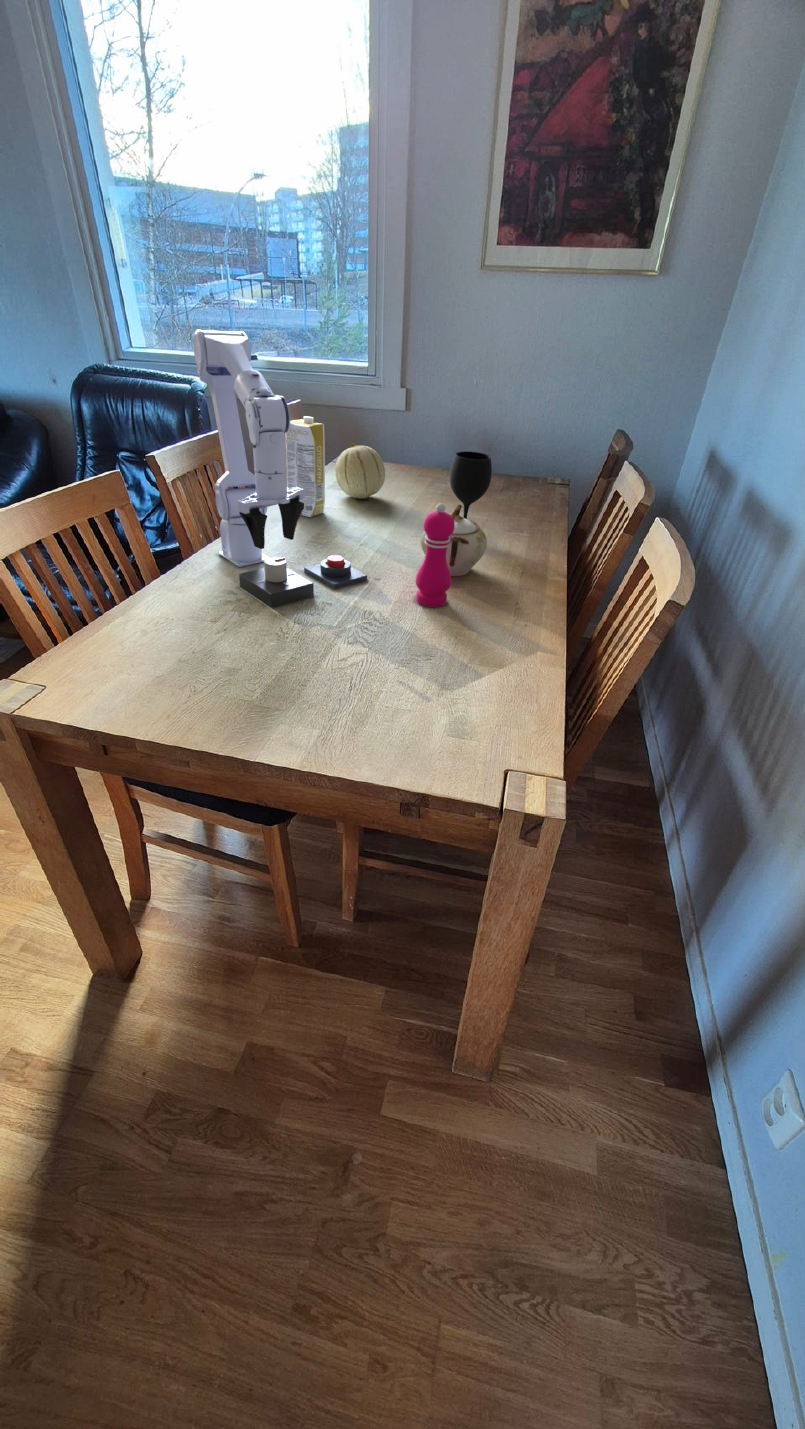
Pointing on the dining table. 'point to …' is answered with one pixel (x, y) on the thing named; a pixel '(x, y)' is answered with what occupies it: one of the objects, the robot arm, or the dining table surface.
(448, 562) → the sugar bowl
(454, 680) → the dining table surface
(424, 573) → the pepper mill
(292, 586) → the panel
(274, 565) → the timer knob
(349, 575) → the button block
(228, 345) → the robot arm
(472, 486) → the wine glass
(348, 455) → the cantaloupe
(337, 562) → the power button
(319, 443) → the juice carton
